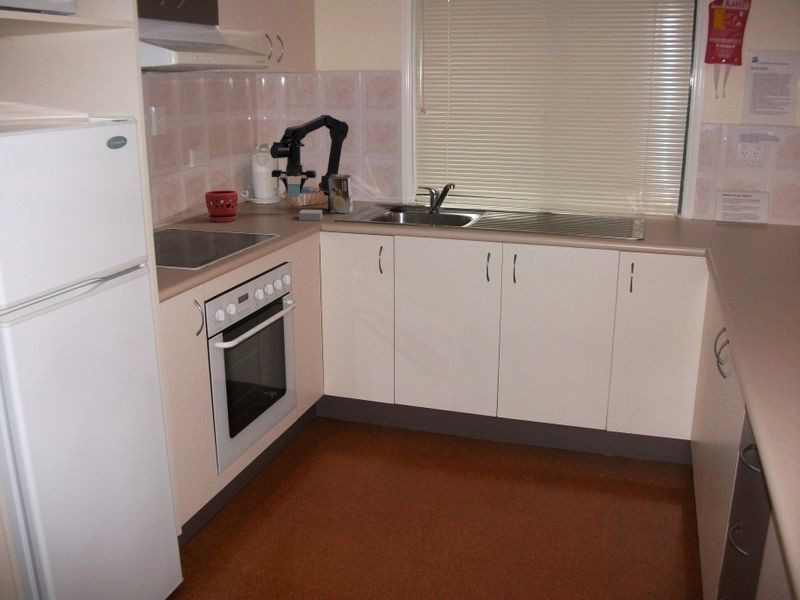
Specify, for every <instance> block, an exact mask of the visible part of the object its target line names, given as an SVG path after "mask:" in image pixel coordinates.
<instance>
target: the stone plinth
mask: <svg viewBox="0 0 800 600" xmlns="http://www.w3.org/2000/svg"><path fill="white" fill-rule="evenodd" d="M321 218H323V209H301V210H300V211H299V213H298V220H299V221H318V220H322V219H321Z"/></svg>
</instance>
